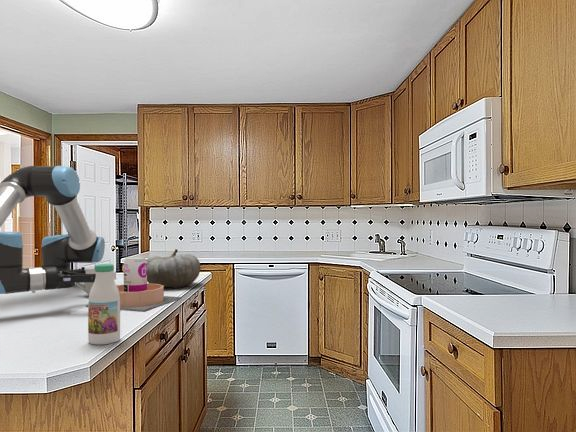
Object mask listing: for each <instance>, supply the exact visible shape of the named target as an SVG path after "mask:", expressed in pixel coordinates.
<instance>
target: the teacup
mask: <svg viewBox="0 0 576 432" xmlns="http://www.w3.org/2000/svg"><path fill="white" fill-rule="evenodd" d="M93 284H94V283H93V282H86V283H84V286H83V285H82V284H81V283H76V286H77V287H79V288H80V289H82V290H83V292H85V294H87V295H88V296H89V294H90V291H91V288H92V286H93Z"/></svg>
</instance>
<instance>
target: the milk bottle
mask: <svg viewBox="0 0 576 432" xmlns="http://www.w3.org/2000/svg"><path fill="white" fill-rule="evenodd" d="M94 268H95V274H96V278H95V281H94V284H93V286H92V288H91V291H90V294H89V295H88V304H87V305H88V307H87V308H88V310H87V311H88V312H87V313H88V314H87V317H88V318H87V319H88V320H87V322H88V323H87V324H88V325H87V326H88V327H87V329H88V330H87V332H88V335H87V337H88V338H87V339H88V340H87V341H88V343H89V344H91V345H95V346H97V345H99V346H100V345H101V346H103V345H109V344H114V343H117V342H119V341H120V339H121V310H120V295H119V291H118V288H117V286H116V285H117V284H116V282H115V280H114V279H113V273H114V272H115V271H114V269H115V266H114V264H113V263H101V264H100V263H99V264H95V265H94Z"/></svg>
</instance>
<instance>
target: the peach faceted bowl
mask: <svg viewBox="0 0 576 432" xmlns="http://www.w3.org/2000/svg"><path fill="white" fill-rule="evenodd" d="M116 286H117V288H118V291H119V295H120V311H131V312H143V313H144V312H147V311H151V310H154V309H156V308H159V307H162V306H163V305H167V304H170V303H173V302H175V301H178V300H181V299H182V297H181V296H169V295H164V294H165V287H164V285H160V284H150V283H148V282H147V291H141V292H124V284H118V285H117V284H116ZM85 308H88V304H86V305H85Z"/></svg>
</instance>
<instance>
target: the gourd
mask: <svg viewBox="0 0 576 432" xmlns="http://www.w3.org/2000/svg"><path fill="white" fill-rule="evenodd" d="M178 251H179V250H178V249H176V248H175V249H174V251H173V253H172V254H171V255H170V256H165V257H162V256H158V255H153V256H149V257H148V258H146V261H147V283H150V284H160V285H164V288H172V289H178V288H183V287H185V286H190V285H191V284H193V283H194V282H195V281H196V279H197V278H199V275H200V273H201V272H200V271H201V268H202V267H201V262H200V260H199V259H198V257H197V256H195V255H193V254H189V253H186V254H181V253H180V254H177V253H178Z"/></svg>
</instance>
